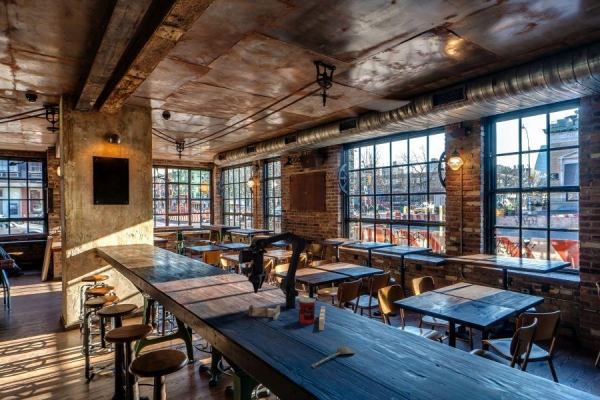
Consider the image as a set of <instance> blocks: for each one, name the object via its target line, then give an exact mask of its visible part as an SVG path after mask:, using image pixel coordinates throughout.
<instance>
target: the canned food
mask: <svg viewBox="0 0 600 400" xmlns="http://www.w3.org/2000/svg"><path fill="white" fill-rule="evenodd" d="M315 307H316V301H315V298H312V297H301V298H299V299H298V322H299V323H300V324H302V325H305V326H307V325H309V326H310V325H312V324H314V323H315V319H316V317H315V316H316V315H315V313H316V312H315V311H316V308H315Z"/></svg>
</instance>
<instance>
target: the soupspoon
mask: <svg viewBox="0 0 600 400" xmlns="http://www.w3.org/2000/svg"><path fill="white" fill-rule="evenodd" d="M336 350H337V352H335V353H333V354H331V355H329V356H328V357H326V358H323V359H321V360H320V361H318V362H315V363H312V364H311V367H312V368H314V369H316V367H317V366H318V365H320V364H322V363H323V362H325V361H327V360H329V359H331V358H333V357H336V356H338V355H346V354H348V355H349V354H355V353H356V352H355V351H354V349H352V348H350V347H348V346H340V347H338V348H337V349H336Z"/></svg>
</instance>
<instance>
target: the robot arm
mask: <svg viewBox="0 0 600 400" xmlns="http://www.w3.org/2000/svg"><path fill="white" fill-rule="evenodd" d="M284 240H288V241H289V242H291V249H292V250H291V251H292V253H291V256H290V260H289V264H288V268H287V272H286V276H285V277H284V278H281V281H280V284H279V286H280V290H281V292H282V294H283V295H285V303H284V306H283V308H285V309H286V308H287V309H296V308H297V305H298V304H297V302H296V301H297V300H296V298H298V297H299V294H300V292H299V291H298V290H297V289H296V280H295V279H296V278H295V277H296V273H297V270H298V265H299V262H300V259H301V255H302V253H303V251H304V250H305V248H306V246H307V243H308V242H307V239H306V238H305V237H302V236H299V235H298V234H295V233H294V232H292V231H290V230H285V231H283V232H282V231H281V232H279V233H276V234H273V235H269V236H262V237H261V236H260V237H254V238H253V239H252V240H251V244H250V245H249V247H248V248H247V249H240V250H239V253H238V257H237V258H238V262H239V264H244V263H252V264H251V266H245V267H242V269H241V274H243V276H246V275H248V274H250V275H249V276H248V278H247V281H248V282H249V283H251V284H252V288H253V290H254V294H257V293H258V291H259V290H261V289H262V287H263V286H264V285H263V284H264V283H265V280H266V278H267V275H268V270H267V269H266V268H264V266H265V261H264V259H265V254H268V252H269V251H267V250H266V248H267V247H268V246H270V245H272V244H276V243H278V242H281V241H284Z"/></svg>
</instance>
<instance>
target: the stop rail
mask: <svg viewBox="0 0 600 400" xmlns="http://www.w3.org/2000/svg"><path fill="white" fill-rule="evenodd" d="M325 320H326V306H323V305H322V306H321V307H320V313H319V319H318V321H319V322H318V330H319V331H324V329H325Z"/></svg>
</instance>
